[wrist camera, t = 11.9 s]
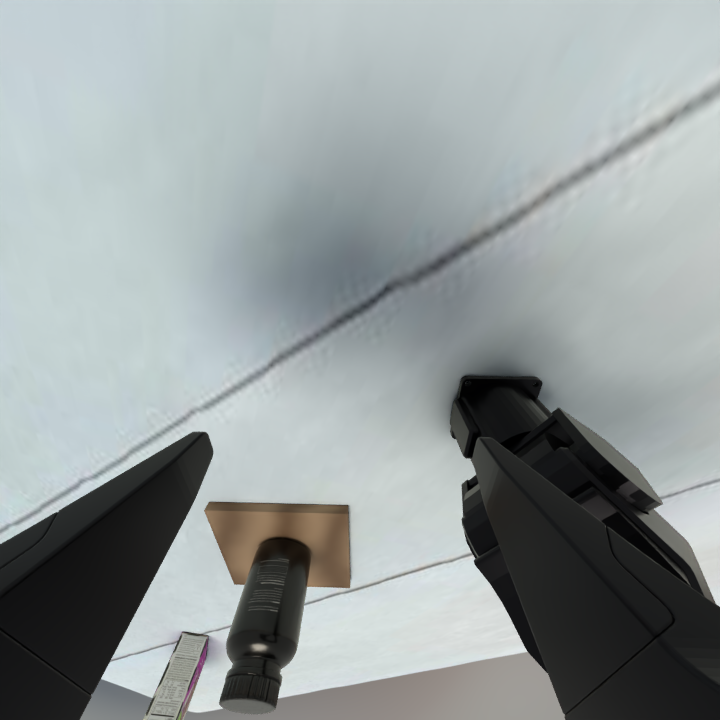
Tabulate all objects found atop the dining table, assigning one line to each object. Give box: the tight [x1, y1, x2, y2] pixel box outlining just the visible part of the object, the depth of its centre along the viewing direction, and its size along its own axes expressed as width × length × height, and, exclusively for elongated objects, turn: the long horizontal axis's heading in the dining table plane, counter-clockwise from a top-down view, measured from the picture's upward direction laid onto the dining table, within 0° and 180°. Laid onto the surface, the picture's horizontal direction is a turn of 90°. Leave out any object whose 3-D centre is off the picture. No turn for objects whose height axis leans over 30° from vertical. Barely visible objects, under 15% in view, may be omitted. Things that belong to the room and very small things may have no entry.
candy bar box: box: [143, 632, 208, 720], centre depth 43 cm, size 11×5×16 cm, turn 163°
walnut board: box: [204, 502, 350, 588], centre depth 34 cm, size 16×16×1 cm
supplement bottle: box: [219, 539, 311, 714], centre depth 28 cm, size 7×7×12 cm
